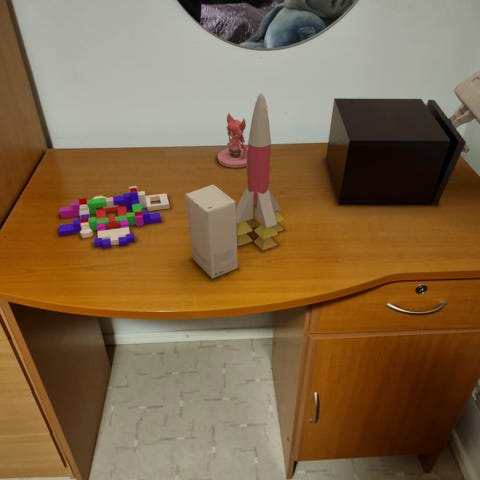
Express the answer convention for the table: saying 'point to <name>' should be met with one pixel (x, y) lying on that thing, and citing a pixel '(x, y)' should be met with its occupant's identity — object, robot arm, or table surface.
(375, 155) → the oven
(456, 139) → the oven door
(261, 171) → the toy rocket
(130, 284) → the table surface
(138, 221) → the building block set
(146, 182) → the table surface
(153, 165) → the table surface
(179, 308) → the table surface
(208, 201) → the cosmetic box
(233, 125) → the toy figure
